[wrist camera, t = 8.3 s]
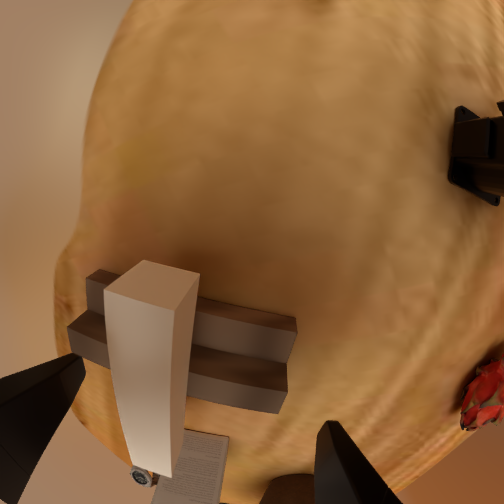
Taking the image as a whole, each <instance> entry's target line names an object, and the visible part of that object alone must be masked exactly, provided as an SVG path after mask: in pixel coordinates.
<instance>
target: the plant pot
mask: <svg viewBox="0 0 504 504" xmlns="http://www.w3.org/2000/svg"><path fill="white" fill-rule="evenodd" d="M259 504H315V487H314V475H307V474H297V475H288V476H283V477H279V478H277V479H275V480H273V481H272V482H271V483H270V484H269V486H268V488H267V490H266V492H265V493H264V495H263V497H262V499H261V501H260V503H259Z"/></svg>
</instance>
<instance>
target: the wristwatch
mask: <svg viewBox="0 0 504 504" xmlns="http://www.w3.org/2000/svg"><path fill="white" fill-rule="evenodd" d="M130 475H131V477H132V478H133V479H134V481H135V482H136V483H138V484H139V485H142V486H144V487H152V486H154V485H157V483H158V480H159V477H160V474H157V473H154V472H153V477H151V475H150V474H149V473H148V471H147V470H146V469H143V468H140V467H137V466H135V465H133V466H132V469H131V473H130Z"/></svg>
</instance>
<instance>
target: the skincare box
mask: <svg viewBox="0 0 504 504" xmlns="http://www.w3.org/2000/svg"><path fill="white" fill-rule="evenodd" d="M228 442H229V438H228V437H225V436H218V435H212V434H206V433H201V432H195V431H190V430H186V429H184V436H183V444H182V447H181V450H180V454H179V457H178V460H177V463H176V466H175V469H174V472H173V476H172V478H170V477H167V476H164V475H160V477H159V480H158V483H157V486H156V490H155V493H154V496H153V499H152V502H151V504H219V502H220V496H221V489H222V483H223V477H224V471H225V465H226V458H227V451H228Z"/></svg>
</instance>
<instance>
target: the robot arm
mask: <svg viewBox="0 0 504 504" xmlns="http://www.w3.org/2000/svg"><path fill="white" fill-rule="evenodd" d="M497 105H498V108H499V110H500V111H501V112H502V115H503V116H499V117H492V118H489V117H484V118H480V117H479V116H477V115H476V114H474V113H473V112H471V111H470V110H468V109H467V108H465V107H464V106H458V107H457V108H456V117H455V126H454V136H453V144H452V154H451V161H450V167H449V173H448V179H449V181H450V183H452V184H454V185H456V186H458V187H460V188H462V189H464V190H466V191H468V192H469V193H471V194H473V195H475V196H477V197H479V198H481V199H482V200H484V201H486V202H488V203H489V204H491V205H493V206H498V205H499V202H500V197H501V196H503V197H504V100H502V101H499V102H497ZM461 111H462V113H463V114H462V113H461ZM454 175H455V180H454V178H453V176H454ZM85 375H86V370H85V366H84V362H83V358H82V357H81V356H80V355H77V354H75V353H70V354H67V355H65V356H62V357H59V358H57V359H54V360H51V361H48V362H45V363H43V364H40V365H37V366H34V367H32V368H29V369H26V370H23V371H20V372H17V373H15V374H12V375H9V376H6V377H3V378H1V379H0V499H1V500H2V501H4V502H5V503H7V504H17V503H18V501H19V499H20V497H21V495H22V492H23V491H24V489H25V487H26V485H27V483H28V481H29V479H30V476H31V474H32V473H33V471H34V469H35V467H36V465H37V463H38V461H39V459H40V457H41V456H42V454H43V452H44V450H45V449H46V447H47V445H48V443H49V442H50V440H51V438H52V436H53V435H54V433H55V431H56V430H57V428H58V426H59V425H60V423H61V421H62V420H63V418H64V416H65V415H66V413H67V411H68V410H69V408H70V406H71V405H72V403H73V401H74V399H75V396H76V394H77V392H78V390H79V388H80V386H81V384H82V382H83V380H84V378H85ZM314 487H315V504H403V503H401V501H400V500H399V499H398V498H397V496H396V495H395V494H394V493H393V492H392V490H391V489H390V488H388V485H387V484H386V483H385V482H384V480H383V479H382V478H381V477H380V475H379V474H378V473H377V471H376V470H375V469H374V468H373V466H372V465H371V464H370V462H369V461H368V460H367V459H366V457H365V456H364V455H363V453H362V452H361V451H360V449H359V448H358V447H357V446H356V444H355V443H354V442H353V440H352V439H351V438H350V436H349V435H348V434H347V432H346V431H345V430H344V428H343V427H342V426H341V424H340V423H339V422H338V421H333V420H327V421H326V422H325V423H324V425H323V426H322V428H321V429H320V431H319V432H318V435H317V441H316V455H315V466H314Z"/></svg>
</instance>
